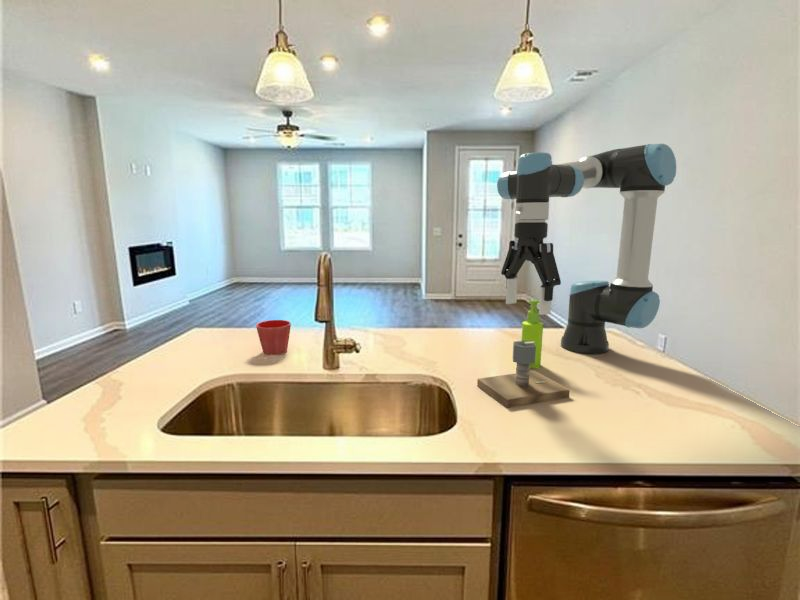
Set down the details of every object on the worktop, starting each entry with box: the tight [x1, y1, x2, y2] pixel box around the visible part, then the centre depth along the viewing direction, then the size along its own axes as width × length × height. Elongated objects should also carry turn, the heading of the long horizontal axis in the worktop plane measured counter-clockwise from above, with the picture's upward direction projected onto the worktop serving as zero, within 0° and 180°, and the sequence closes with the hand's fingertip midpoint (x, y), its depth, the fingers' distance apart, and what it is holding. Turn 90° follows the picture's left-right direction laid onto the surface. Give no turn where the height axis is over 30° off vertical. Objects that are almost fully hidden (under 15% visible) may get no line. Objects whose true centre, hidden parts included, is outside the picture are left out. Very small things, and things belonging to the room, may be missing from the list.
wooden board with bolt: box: [476, 363, 571, 408], centre depth 108 cm, size 18×14×8 cm
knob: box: [512, 340, 536, 364], centre depth 107 cm, size 6×5×5 cm
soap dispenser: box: [521, 299, 544, 369], centre depth 127 cm, size 6×7×20 cm
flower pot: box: [256, 319, 292, 356], centre depth 141 cm, size 11×11×10 cm
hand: (526, 308), depth 105 cm, fingers open, 13 cm apart
